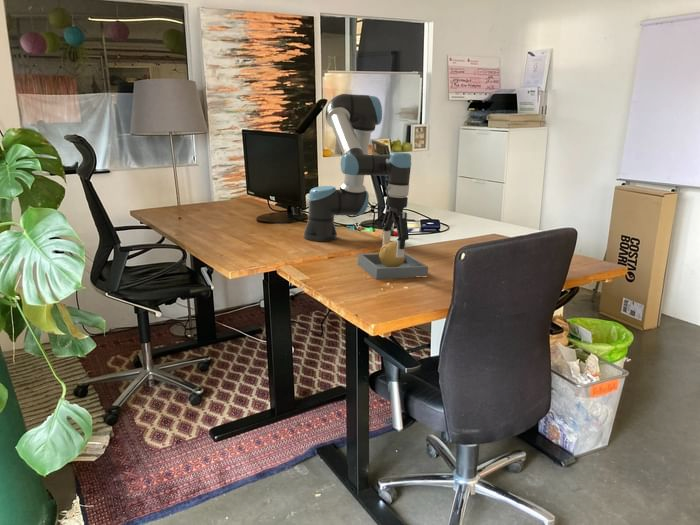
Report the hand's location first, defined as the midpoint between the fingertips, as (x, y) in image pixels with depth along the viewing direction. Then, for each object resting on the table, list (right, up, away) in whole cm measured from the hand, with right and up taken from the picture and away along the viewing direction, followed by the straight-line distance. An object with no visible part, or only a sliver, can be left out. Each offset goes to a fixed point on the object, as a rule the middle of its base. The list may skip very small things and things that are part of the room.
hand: (392, 252), depth 205 cm
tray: (0, -7, +2) cm, 7 cm away
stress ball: (0, -6, +2) cm, 6 cm away
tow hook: (+5, +10, +64) cm, 65 cm away
